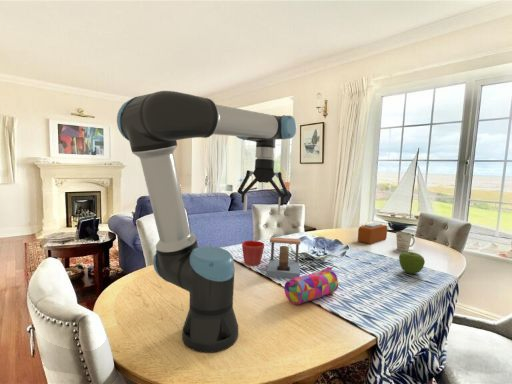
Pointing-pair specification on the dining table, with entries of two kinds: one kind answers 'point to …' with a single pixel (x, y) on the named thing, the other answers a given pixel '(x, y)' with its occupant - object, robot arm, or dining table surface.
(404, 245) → the mug
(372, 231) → the orange rectangular block
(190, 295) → the robot arm
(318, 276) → the pencil case
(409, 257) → the apple
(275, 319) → the dining table surface
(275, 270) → the socket board
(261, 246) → the flower pot
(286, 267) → the dowel
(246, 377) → the dining table surface
